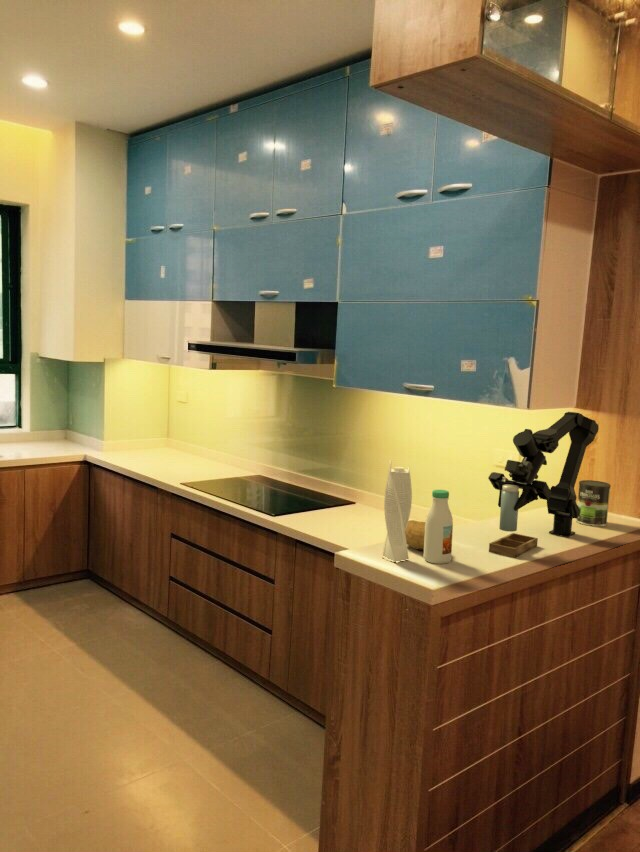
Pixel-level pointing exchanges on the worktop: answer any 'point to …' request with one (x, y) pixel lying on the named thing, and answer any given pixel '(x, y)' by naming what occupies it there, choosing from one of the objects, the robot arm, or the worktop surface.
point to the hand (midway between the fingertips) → (506, 508)
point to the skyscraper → (397, 512)
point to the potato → (415, 534)
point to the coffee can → (593, 502)
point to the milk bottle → (438, 529)
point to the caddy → (513, 545)
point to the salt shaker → (509, 508)
